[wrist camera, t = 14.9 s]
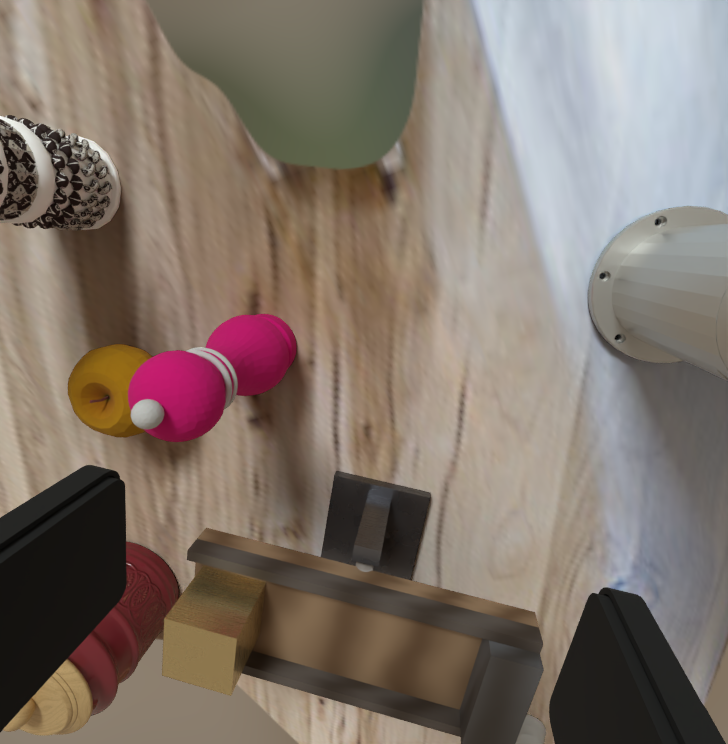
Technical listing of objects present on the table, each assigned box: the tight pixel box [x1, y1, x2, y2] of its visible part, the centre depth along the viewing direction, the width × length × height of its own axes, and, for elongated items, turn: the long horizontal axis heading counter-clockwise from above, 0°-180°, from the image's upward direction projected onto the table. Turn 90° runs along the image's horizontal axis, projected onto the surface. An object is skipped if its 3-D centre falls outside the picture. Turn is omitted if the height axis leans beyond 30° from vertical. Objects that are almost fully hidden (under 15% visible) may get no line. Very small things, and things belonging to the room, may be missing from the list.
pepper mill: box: [128, 314, 296, 442], centre depth 35 cm, size 7×7×20 cm
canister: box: [3, 542, 179, 735], centre depth 47 cm, size 13×13×18 cm
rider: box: [162, 566, 266, 696], centre depth 38 cm, size 6×6×6 cm
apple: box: [68, 344, 153, 437], centre depth 43 cm, size 9×9×9 cm
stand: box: [321, 471, 430, 580], centre depth 45 cm, size 10×20×9 cm, turn 170°
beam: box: [187, 528, 544, 744], centre depth 40 cm, size 30×13×6 cm, turn 80°
